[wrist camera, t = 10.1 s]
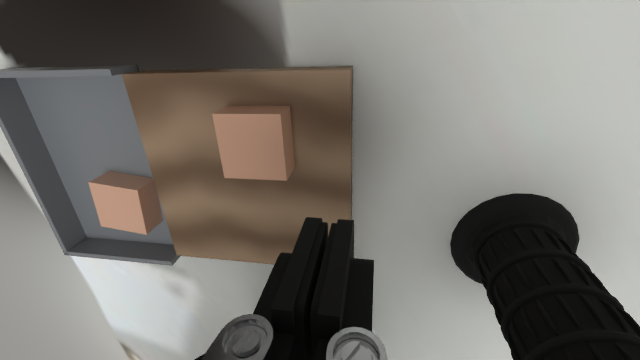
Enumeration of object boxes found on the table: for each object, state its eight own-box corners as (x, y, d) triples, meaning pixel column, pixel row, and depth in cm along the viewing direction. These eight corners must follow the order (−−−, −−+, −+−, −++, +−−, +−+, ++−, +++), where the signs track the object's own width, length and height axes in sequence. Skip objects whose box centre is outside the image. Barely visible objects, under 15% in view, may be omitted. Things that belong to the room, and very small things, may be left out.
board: (351, 257, 31) (349, 271, 29) (187, 243, 34) (176, 255, 32) (352, 66, 23) (350, 69, 21) (139, 70, 26) (121, 74, 24)
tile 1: (294, 167, 25) (286, 180, 23) (237, 165, 26) (224, 178, 24) (290, 105, 23) (280, 114, 21) (227, 105, 24) (212, 113, 22)
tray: (188, 247, 34) (172, 265, 31) (88, 238, 36) (64, 254, 34) (137, 64, 26) (109, 68, 23) (11, 68, 28) (-28, 72, 25)
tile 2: (162, 220, 33) (146, 234, 30) (119, 213, 33) (101, 226, 31) (155, 178, 30) (137, 190, 28) (109, 171, 31) (88, 182, 29)
